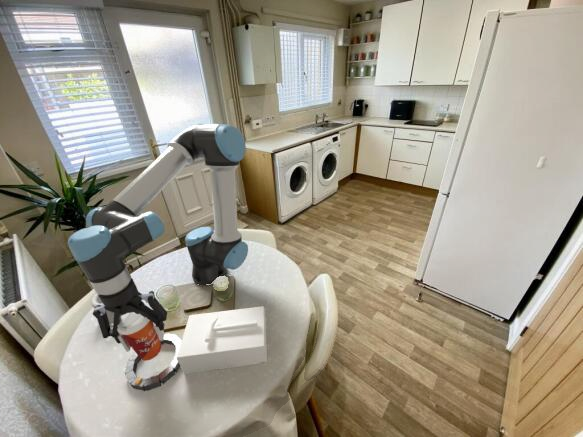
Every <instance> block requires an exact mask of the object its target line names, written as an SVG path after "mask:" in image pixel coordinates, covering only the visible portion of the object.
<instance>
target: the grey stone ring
mask: <svg viewBox="0 0 583 437" xmlns="http://www.w3.org/2000/svg"><path fill="white" fill-rule="evenodd" d="M181 341H182V339H181V338H179V337H178V335H176V334H171V333H164V340H163V341H160V342H161V346H162V345H169V346H170V345H171V346H174V348H175V355H174V357H173V359H172V361H171V362H170V364H169V366H167V367H166V368H165V369H163V370H162V371H161V372H160V373H159V374H156V375H154V376H153V375H152V376H150V377H148V378H142V377H138V376H137V374H136V373H137V370H138V369H137V368H138V365H139V364H140V362H141V361H142V359H141V358H140V357H139V356H138V355H137V354H136V352H135V351H134V352H133V353H132V354H131V356H130V357H129V358H128V361H127V362H126V366H125V371H124V376H125V378H126V380H127V382H128V383H129V385H130V387H131V388H132V389H133V390H136V391H142V392H148V391H151V390H153V389H156V388H159V387H162V385H163V386H164V385H165V384H166V383H167V382H168V381H170V380H171V379H172V378H173V377H174V376H176V373H178V371H179V370H180V368H181V366H180V364H179V362H178V360H177V358H176V357H177V354H178V350H179V347H180V344H181Z"/></svg>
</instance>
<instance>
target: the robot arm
mask: <svg viewBox="0 0 583 437" xmlns="http://www.w3.org/2000/svg"><path fill="white" fill-rule="evenodd" d="M166 146H167V148H166V150H164V151H163V152H162V153H161V154H160V155H159V156H158V157H157V158H156V159H155V160H153V162H152V163H150V165H149V166H147V167H146V168H145V169H144V170H143V171H142V172H141V173H140V174H139V175H137V177H135V178H134V179H133V181H131V182H130V183H129V184H128V185H126V187H125V188H123V190H122V191H121V192H120V193H118V194H117V195H116V196H115V197H114V198H113V199H112V200H111V201H110V202H109V203H108V204H106V205H105V206H102V207H101V206H100V207H95V208H93V209H91V210H90V211H89V212H88V213H87V215H86V218H85V224H86V225H87V227H86V228H85V227H84V228H81V229H79V230H77V231H76V232H74V233H73V234H71V235H70V236H69V238H68V240H67V245H68V247H69V250H70V252H71V254H72V256H73V259H74V260H75V262H77V264H78V265H79V266H80V269H81V270H82V271H83V274H85V276H86V277H87V279H88V281H89V283H90V285H91V286H92V288H93V290H94V292H95V293H96V294H98V296H99V298H100V299H101V301H102V303H103V304H104V305H102V306H101V305H97V306H96V307H95V309H94V308H93V309H94V310H93V312H92V315H93V317H95V318H96V319H97V324H98V326H99V329H100V332H101V336H102V338H103V339H109V337H112V338H113V339H114V340H115V341H116V344H121V346H122V347H123V349H124V350H125V352H130V350H131V349H132V347H131V346H130V345H129V343H128V342H127V340H126V339H125V338H124V336H123V335H122V334H120V333H119V332H118V331H117V328H118V325H119V322H120V319H121V315H125V314H127V313H132V312H134V313H136V314H140V315H142V316H143V317H147V319H148V320H150V321H151V322H153V324H154V329H155V331H156V333H157V335H158V337H159V339H160V341H163V340H164V334H165V331H164V330H165V321H167V319H168V318H167V317H168V311H167V310H166V309H165V308H164V307H163V305H162V304H161V303H160V301H159V300H158V298H156V295H155V292H154V290H150V291H149V292H148V293H145V294H143V293H140V291H139V290H138V287H137V285H136V283H135V281H134V279H133V278H132V275H131V273H130V272H129V270H128V268H127V266H126V263H125V261H124V258H126V257H128V256H129V255H131V254H132V253H134V252H136V251H137V250H139V249H142V248H143V247H144V246H147V245H148V244H150V243H152V242H154V241H155V240H156V239H158V238H160V237H161V236H162V235H163V234H164V233H165V229H166V228H165V224H164V222H163V220H162V219H161V217H160V216H159V215H158V214H157V213H155V212H154V211H145V212H142V211H143V210H144V209H145V208H146V207H147V206H148V205H149V204H150V203H151V202H152V201H153V200H154V199H155V198H156V197H157V196H158V195H159V193H161V192H162V190H164V188H165V187H167V185H168V184H169V183H170V182H171V181H172V180H173V179H174V178H175V177H176V176H177V175H178V174H179V173H180V172H181V171H182V169H184V168H185V167H186V165H187V166H190V165H192V164H193V163H194V162H195V160H198V159H199V160H200V159H204V165H205V166H206V167H207V168H208V169H209V173H210V182H211V183H210V186H211V187H210V188H211V197H212V211H213V212H212V213H213V225H214V226H213V227H214V229H213V227H212V226H200V227H197V228H194V229H193V230H191V231H190V232H188V233H187V234H186V236H185V238H184V242H185V246H186V248H187V251H188V254H189V257H190V260H191V263H192V270H191V277H192V281H193V282H194V284H196V285H197V284H199V285H198V286H200V285H206V284H211V283H212V282H213V281H214V280H215V279H216V278H217V277H219V276H224V275H225V276H227V272H228V269H229V270H233V271H234V270H237V269H238V268H240V267H241V266H242V265H243V264H244V262H245V260H246V259H247V256H248V253H249V245H248V244H247V242H245V241H243V240H242V237H243V236H242V233H241V232H240V231H239V230H238V211H237V208H238V207H237V206H238V205H237V186H236V185H237V184H236V182H237V181H236V169H238V168H239V166H240V161H242V160H243V159H244V158H245V153H246V150H247V149H246V147H247V146H246V142H245V138H244V136H243V133H242V132H241V131H240V129H239V128H237V127H236V126H235V125H231V124H224V123H197V124H194V125H190V126H189V127H186V128H185V129H184V130H183V131H180V133H178V134H177V135H176V136H174V137H173V139H171V140H170V141H169V142H168V143H167V145H166ZM141 212H142V213H141ZM144 302H145V303H146V304H148V305H149V306H147V305H146V304H145V303H144ZM106 310H108V311H110V312H113V313H114V322H113V325H112V327H111V324H109V320H108V317H107V313H106Z"/></svg>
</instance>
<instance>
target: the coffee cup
mask: <svg viewBox="0 0 583 437" xmlns="http://www.w3.org/2000/svg"><path fill="white" fill-rule="evenodd" d="M117 331H118V332H119V333H120V334H122V335H123V336H124V338H125V339H126V340H127V342H128V343H129V345H130V346H131V349H132V350H133V351H134V352H136V354H137V355H138V356H139V357H140V358H141V361H146V362H147V361H151V360H153V359H154V358H156V357H158V356H159V354H160V353H161V350H162V345H161V342H160V339H159V337H158V335H157V333H156V331H155V329H154V323H153V322H151V321H150V320H148V319H147V317H143V316H142V315H140V314H136V313H134V312H132V313H127V314H125V315H122V316H121V319H120V322H119V325H118V328H117Z"/></svg>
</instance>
